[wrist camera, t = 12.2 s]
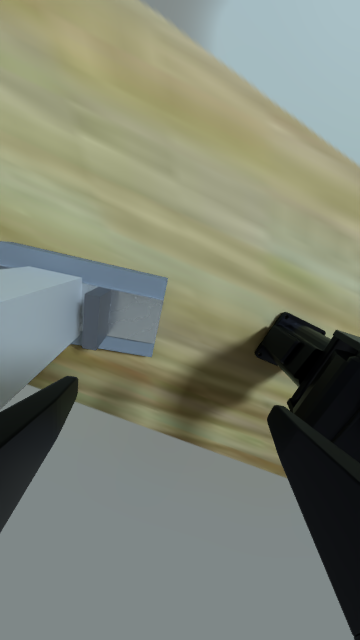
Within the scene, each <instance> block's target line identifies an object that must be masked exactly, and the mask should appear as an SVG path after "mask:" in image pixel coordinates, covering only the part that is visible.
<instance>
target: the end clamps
mask: <svg viewBox="0 0 360 640" xmlns="http://www.w3.org/2000/svg"><path fill="white" fill-rule="evenodd" d="M0 269H9V268H8V267H3V266H0ZM111 291H112V289H107V288H102V287H97V288H95V289H93V290H91V291H89V292H87V293H85V297H84V318H83V339H82V348H85V349H91V350H97V348H98V347H99V346H100V344H101V343H102V342H103V340H104V339H105V338H106V336H107V331H108V321H109V311H110V301H111Z"/></svg>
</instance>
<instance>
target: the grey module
mask: <svg viewBox="0 0 360 640" xmlns="http://www.w3.org/2000/svg"><path fill="white" fill-rule="evenodd" d="M81 296H82V277H77V276H72V275H68V274H63V273H58V272H54V271H49V270H44V269H40V268H35V267H30V266H28V267H18V268H9V269H0V409H1V408H2V407H3V406H4V405H5V404H7V402H8V401H10V400H11V399H12V398H13V397H14V396H15V395H16V394H17V393H18V392H19V391H20V390H21V389H23V388H24V387H25V386H26V385H27V384H28V383H29V382H30V381H31V380H32V379H33V378H34V377H35V376H36V375H38V374H39V373H40V372H41V371H42V370H43V369H44V368H45V367H46V366H47V365H48V364H49V363H50V362H51V361H52V360H54V359H55V358H56V357H57V356H58V355H59V354H60V353H61V352H62V351H63V350H64V349H65V348H66V347H67V346H69V345H70V344H71V343H72V342H73V341H74V340H75V339H76V338H77V337H78V336H79V335H80V322H81Z"/></svg>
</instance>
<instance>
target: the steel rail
mask: <svg viewBox="0 0 360 640" xmlns="http://www.w3.org/2000/svg"><path fill="white" fill-rule="evenodd" d="M0 266H3V267H8V268H13V267H9V266H4V265H0ZM97 287H102V288H107V287H103V286H98V285H93V284H88V283H84V282H82V296H81V322H80V331H83V318H84V297H85V293H87V292H89V291H91V290H93V289H95V288H97ZM107 289H112V288H107ZM163 300H164V299H159V298H154V297H150V296H145V295H140V294H135V293H131V292H126V291H121V290H117V289H112V291H111V301H110V311H109V321H108V331H107V336H113V337H118V338H124V339H130V340H135V341H141V342H147V343H152V344H154V343H155V339H156V334H157V329H158V324H159V319H160V315H161V310H162V305H163Z"/></svg>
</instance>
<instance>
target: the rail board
mask: <svg viewBox="0 0 360 640" xmlns="http://www.w3.org/2000/svg"><path fill="white" fill-rule="evenodd" d="M0 265H4V266H9V267H13V268H18V267H28V266H30V267H35V268H40V269H44V270H49V271H54V272H58V273H63V274H68V275H72V276H77V277H82V282H84V283H88V284H93V285H98V286H103V287H107V288H112V289H117V290H121V291H126V292H131V293H135V294H140V295H145V296H150V297H154V298H159V299H164V295H165V290H166V285H167V280H168V278H166V277H161V276H157V275H153V274H148V273H144V272H140V271H135V270H131V269H127V268H122V267H118V266H114V265H109V264H105V263H101V262H96V261H92V260H88V259H83V258H79V257H75V256H70V255H66V254H62V253H57V252H53V251H49V250H44V249H40V248H36V247H31V246H27V245H23V244H18V243H14V242H3V241H0ZM82 339H83V331H80V335H79V336H78V337H77V338H76V339H75V340H74V341H73V342H72V343H71V344H75V345H81V346H82ZM98 348H99V349H105V350H111V351H117V352H123V353H130V354H136V355H142V356H148V357H152V353H153V348H154V344H152V343H147V342H141V341H135V340H130V339H124V338H118V337H113V336H106V338H105V339H104V340H103V342H102V343H101V344H100V346H99V347H98Z"/></svg>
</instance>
